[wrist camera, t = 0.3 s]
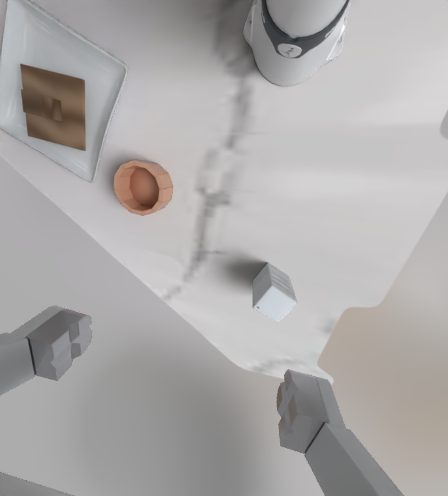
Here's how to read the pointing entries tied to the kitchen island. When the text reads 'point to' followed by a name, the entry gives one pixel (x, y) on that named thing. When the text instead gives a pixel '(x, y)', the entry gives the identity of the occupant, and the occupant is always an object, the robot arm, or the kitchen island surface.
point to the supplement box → (273, 293)
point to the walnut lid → (54, 106)
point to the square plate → (64, 62)
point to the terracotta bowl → (142, 187)
